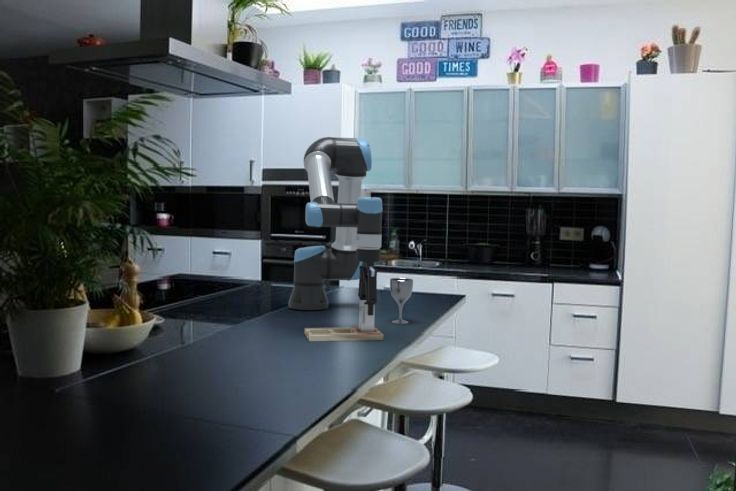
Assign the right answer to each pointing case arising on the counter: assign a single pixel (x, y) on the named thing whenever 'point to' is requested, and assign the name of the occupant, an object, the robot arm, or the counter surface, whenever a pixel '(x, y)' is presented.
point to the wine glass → (401, 294)
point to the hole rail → (341, 334)
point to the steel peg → (362, 321)
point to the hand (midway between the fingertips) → (366, 323)
